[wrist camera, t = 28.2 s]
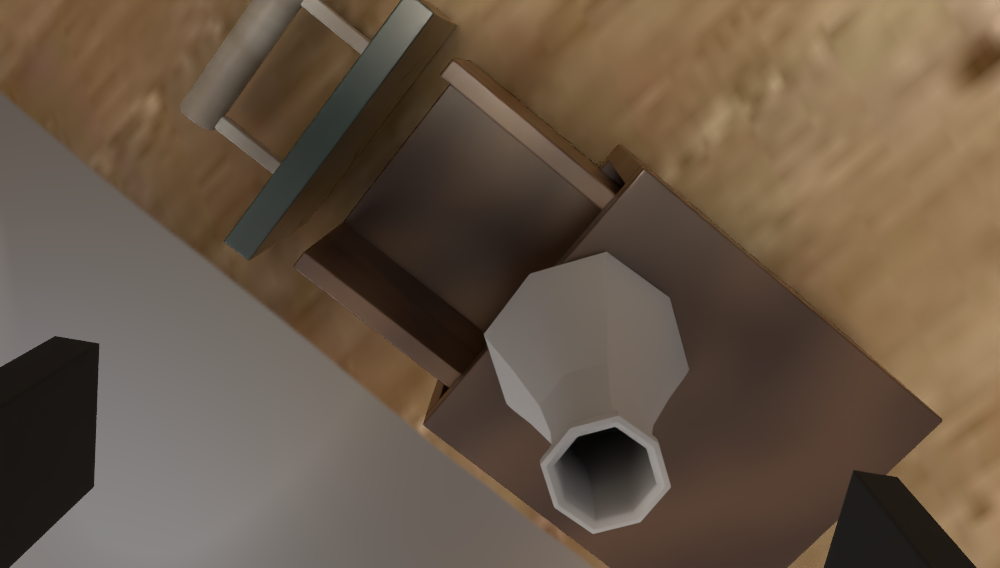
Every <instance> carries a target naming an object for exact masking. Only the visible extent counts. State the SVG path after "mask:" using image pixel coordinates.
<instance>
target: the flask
mask: <svg viewBox="0 0 1000 568" xmlns="http://www.w3.org/2000/svg"><path fill="white" fill-rule="evenodd" d="M484 337H485V340H486V343H487V346H488V349H489V352H490V355H491V358H492V361H493V364H494V367H495V370H496V373H497V376H498V379H499V382H500V385H501V388H502V391H503V395H504V398H505V401H506V404H507V405H508V406H509V407H510V408H511V409H513V410H514V411H515V412H516V413H518V414H519V415H520V416H521V417H523V418H524V419H525V420H527V421H528V422H529V423H530V424H531V425H532V426H533V427H534V428H536V429H537V430H538V431H539V432H540V433H541V434H542V435H543V436H544V437H545V438H546V439H547V440H548V441H549V442H550V443H551V447H550V448H549V449H548V450H547V451H546V453H545V454H544V455H543V456H542V458H541V460H540V465H541V468H542V471H543V474H544V477H545V480H546V484H547V487H548V490H549V493H550V496H551V499H552V502H553V505H554V508H556V509H557V510H559V511H560V512H562V513H563V514H564V515H566V516H567V517H569V518H570V519H572V520H573V521H575V522H576V523H578V524H579V525H581V526H582V527H583V528H585V529H586V530H588V531H589V532H591V533H592V534H595V533H599V532H603V531H607V530H611V529H616V528H620V527H624V526H628V525H632V524H636V523H640V522H641V521H642V520H643V519H644V517H645V516H646V515H647V514H648V513H649V512H650V511H651V509H652V508H653V507H654V506H655V505H656V504H657V503H658V501H659V500H660V499H661V498H662V497H663V496H664V495H665V494H666V492H667V491H668V490H669V489H670V488H671V485H670V481H669V477H668V474H667V470H666V467H665V463H664V460H663V456H662V453H661V449H660V446H659V442H658V439H657V438H656V437H654V436H653V435H652V431H653V425H654V423H655V422H656V420H657V418H658V417H659V415H660V413H661V412H662V410H663V408H664V406H665V405H666V403H667V401H668V400H669V398H670V397H671V395H672V394H673V392H674V391H675V390H676V388H677V387H678V386H679V384H680V383H681V382H682V380H683V379H684V378H685V376H686V374H687V373H688V371H689V367H688V363H687V360H686V356H685V352H684V349H683V345H682V341H681V337H680V334H679V330H678V326H677V323H676V319H675V315H674V312H673V308H672V304H671V301H670V298H669V297H668V296H667V295H665V294H664V293H663V292H661V291H660V290H658V289H657V288H656V287H654V286H653V285H652V284H650V283H649V282H647V281H646V280H645V279H643V278H642V277H641V276H639V275H638V274H637V273H635V272H634V271H632V270H631V269H630V268H628V267H627V266H626V265H624V264H623V263H622V262H620V261H619V260H617V259H616V258H615V257H613V256H612V255H611V254H609V253H608V252H604V253H600V254H597V255H593V256H590V257H586V258H583V259H579V260H576V261H572V262H569V263H565V264H562V265H559V266H555V267H552V268H548V269H545V270H541V271H538V272H534V273H531V274H529V276H528V277H527V278H526V279H525V281H524V282H523V283H522V285H521V286H520V287H519V289H518V290H517V291H516V293H515V294H514V295H513V297H512V298H511V299H510V300H509V302H508V303H507V304H506V306H505V307H504V308H503V310H502V311H501V312H500V314H499V315H498V316H497V318H496V319H495V320H494V321H493V323H492V324H491V325H490V327H489V328H488V329H487V331H486V332H485V333H484Z"/></svg>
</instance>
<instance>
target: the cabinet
mask: <svg viewBox="0 0 1000 568" xmlns="http://www.w3.org/2000/svg"><path fill="white" fill-rule="evenodd" d="M599 169H601V170H602V171H603V172H604V173H605V174H607V175H608V176H609V177H610V178H611V179H613V180H614V181H615V182H616V183H617V184H619V185H620V186H621V187H622V188H621V189H620V190H619V192H618V193H617V194H616V195H615V196H614V197H613V199H612V200H611V201H610V202H609V203H608V204H607V206H606V207H605V208H604V209H603V210H602V211H601V213H600V214H599V215H598V216H597V217H596V218H595V219H594V221H593V222H592V223H591V224H590V225H589V226H588V228H587V229H586V230H585V231H584V232H583V233H582V235H581V236H580V237H579V238H578V239H577V240H576V242H575V243H574V244H573V245H572V246H571V247H570V249H569V250H568V251H567V252H566V253H565V254H564V256H563V257H562V258H561V259H560V260H559V261H558V262H557V264H556V265H555V266H559V265H562V264H565V263H569V262H572V261H576V260H579V259H583V258H586V257H590V256H593V255H597V254H600V253H604V252H608V253H609V254H611V255H612V256H613V257H615V258H616V259H617V260H619V261H620V262H622V263H623V264H624V265H626V266H627V267H628V268H630V269H631V270H632V271H634V272H635V273H637V274H638V275H639V276H641V277H642V278H643V279H645V280H646V281H647V282H649V283H650V284H652V285H653V286H654V287H656V288H657V289H658V290H660V291H661V292H663V293H664V294H665V295H667V296H668V297H669V298H670V301H671V304H672V308H673V312H674V315H675V319H676V323H677V326H678V330H679V334H680V337H681V341H682V345H683V349H684V352H685V356H686V360H687V363H688V367H689V371H688V373H687V374H686V376H685V378H684V379H683V380H682V382H681V383H680V384H679V386H678V387H677V388H676V390H675V391H674V392H673V394H672V395H671V397H670V398H669V400H668V401H667V403H666V405H665V406H664V408H663V410H662V412H661V413H660V415H659V417H658V418H657V420H656V422H655V423H654V425H653V431H652V435H653V436H654V437H656V438H657V439H658V442H659V446H660V449H661V453H662V456H663V460H664V463H665V467H666V470H667V474H668V477H669V481H670V485H671V488H670V489H669V490H668V491H667V492H666V494H665V495H664V496H663V497H662V498H661V499H660V500H659V501H658V503H657V504H656V505H655V506H654V507H653V508H652V509H651V511H650V512H649V513H648V514H647V515H646V516H645V517H644V519H643V520H642V521H641V522H640V523H636V524H632V525H628V526H624V527H620V528H616V529H611V530H607V531H603V532H599V533H595V534H592V533H591V532H589V531H588V530H586V529H585V528H583V527H582V526H581V525H579V524H578V523H576V522H575V521H573V520H572V519H570V518H569V517H567V516H566V515H564V514H563V513H562V512H560V511H559V510H557V509H556V508H554V505H553V502H552V499H551V496H550V493H549V490H548V487H547V484H546V480H545V477H544V474H543V471H542V468H541V465H540V460H541V458H542V456H543V455H544V454H545V453H546V451H547V450H548V449H549V448H550V447H551V443H550V442H549V441H548V440H547V439H546V438H545V437H544V436H543V435H542V434H541V433H540V432H539V431H538V430H537V429H536V428H534V427H533V426H532V425H531V424H530V423H529V422H528V421H527V420H525V419H524V418H523V417H521V416H520V415H519V414H518V413H516V412H515V411H514V410H513V409H511V408H510V407H509V406H508V405H507V404H506V401H505V398H504V395H503V391H502V388H501V385H500V382H499V379H498V376H497V373H496V370H495V367H494V364H493V361H492V358H491V355H490V352H489V349H488V346H487V345H486V346H485V347H484V348H483V350H482V351H481V352H480V353H479V354H478V355H477V357H476V358H475V359H474V360H473V361H472V362H471V364H470V365H469V366H468V367H467V368H466V369H465V371H464V372H463V373H462V374H461V375H460V376H459V377H458V379H457V380H456V381H455V382H454V383H453V384H452V386H451V387H450V388H449V387H447V386H446V385H445V384H443V383H442V382H441V381H440V380H438V381H437V384H436V387H435V389H434V392H433V395H432V398H431V401H430V404H429V407H428V410H427V413H426V417H425V420H424V423H423V425H424V426H425V427H426V428H428V429H429V430H430V431H432V432H433V433H434V434H436V435H437V436H438V437H440V438H441V439H442V440H444V441H445V442H446V443H447V444H449V445H450V446H451V447H453V448H454V449H455V450H457V451H458V452H459V453H461V454H462V455H463V456H464V457H466V458H467V459H468V460H470V461H471V462H472V463H474V464H475V465H476V466H478V467H479V468H480V469H482V470H483V471H484V472H485V473H487V474H488V475H489V476H491V477H492V478H493V479H495V480H496V481H497V482H499V483H500V484H501V485H503V486H504V487H505V488H506V489H508V490H509V491H510V492H512V493H513V494H514V495H516V496H517V497H518V498H520V499H521V500H522V501H524V502H525V503H526V504H527V505H529V506H530V507H531V508H533V509H534V510H535V511H537V512H538V513H539V514H541V515H542V516H543V517H544V518H546V519H547V520H548V521H550V522H551V523H552V524H554V525H555V526H556V527H558V528H559V529H560V530H562V531H563V532H564V533H565V534H567V535H568V536H569V537H571V538H572V539H573V540H575V541H576V542H577V543H579V544H580V545H581V546H583V547H584V548H585V549H586V550H588V551H589V552H590V553H592V554H593V555H594V556H596V557H597V558H598V559H600V560H601V561H602V562H604V563H605V564H606V565H607V566H609V567H610V568H787V567H788V566H789V565H791V564H792V563H793V562H794V561H795V560H796V559H797V558H798V557H799V556H800V555H801V554H802V553H803V552H804V551H805V550H806V549H808V548H809V547H810V546H811V545H812V544H813V543H814V542H815V541H816V540H817V539H818V538H819V537H820V536H821V535H822V534H823V533H824V532H826V531H827V530H828V529H829V528H830V527H831V526H832V525H833V524H834V523H835V522H836V521H837V520H838V519H839V516H840V513H841V509H842V506H843V503H844V499H845V496H846V493H847V489H848V486H849V483H850V480H851V476H852V473H853V470H857V471H863V472H869V473H875V474H881V475H886V474H887V473H888V472H889V471H890V470H891V469H892V468H893V467H894V466H896V465H897V464H898V463H899V462H900V461H901V460H902V459H903V458H904V457H905V456H906V455H907V454H908V453H909V452H910V451H911V450H912V449H914V448H915V447H916V446H917V445H918V444H919V443H920V442H921V441H922V440H923V439H924V438H925V437H926V436H927V435H928V434H929V433H930V432H932V431H933V430H934V429H935V428H936V427H937V426H938V425H939V424H940V423H941V422H942V418H940V417H939V416H938V415H937V414H936V413H935V412H934V411H932V410H931V409H930V408H929V407H928V406H927V405H926V404H924V403H923V402H922V401H921V400H920V399H919V398H918V397H916V396H915V395H914V394H913V393H912V392H911V391H910V390H908V389H907V388H906V387H905V386H904V385H903V384H902V383H900V382H899V381H898V380H897V379H896V378H895V377H894V376H892V375H891V374H890V373H889V372H888V371H887V370H886V369H884V368H883V367H882V366H881V365H880V364H879V363H878V362H876V361H875V360H874V359H873V358H872V357H871V356H870V355H868V354H867V353H866V352H865V351H864V350H863V349H861V348H860V347H859V346H858V345H857V344H856V343H855V342H853V341H852V340H851V339H850V338H849V337H848V336H847V335H845V334H844V333H843V332H842V331H841V330H839V329H838V328H837V327H836V326H835V325H834V324H832V323H831V322H830V321H829V320H828V319H826V318H825V317H824V316H823V315H822V314H820V313H819V312H818V311H817V310H816V309H815V308H813V307H812V306H811V305H810V304H809V303H807V302H806V301H805V300H804V299H803V298H802V297H800V296H799V295H798V294H797V293H796V292H794V291H793V290H792V289H791V288H790V287H789V286H787V285H786V284H785V283H784V282H783V281H781V280H780V279H779V278H778V277H777V276H776V275H774V274H773V273H772V272H771V271H770V270H768V269H767V268H766V267H765V266H764V265H762V264H761V263H760V262H759V261H758V260H757V259H755V258H754V257H753V256H752V255H751V254H749V253H748V252H747V251H746V250H745V249H744V248H742V247H741V246H740V245H739V244H738V243H736V242H735V241H734V240H733V239H732V238H731V237H729V236H728V235H727V234H726V233H725V232H723V231H722V230H721V229H720V228H719V227H718V226H716V225H715V224H714V223H713V222H712V221H710V220H709V219H708V218H707V217H706V216H704V215H703V214H702V213H701V212H700V211H699V210H697V209H696V208H695V207H694V206H693V205H691V204H690V203H689V202H688V201H687V200H686V199H684V198H683V197H682V196H681V195H680V194H678V193H677V192H676V191H675V190H674V189H673V188H671V187H670V186H669V185H668V184H667V183H665V182H664V181H663V180H662V179H661V178H660V177H658V176H657V175H656V174H655V173H654V172H652V171H651V170H650V169H649V168H648V167H647V166H645V165H644V164H643V163H642V162H641V161H639V160H638V159H637V158H636V157H635V156H633V155H632V154H631V153H630V152H629V151H628V150H626V149H625V148H624V147H623V146H622V145H620V144H619V145H618V146H617V147H616V148H615V149H614V151H613V152H612V153H611V154H610V155H609V156H608V158H607V159H606V160H605V161H604V162H603V164H602V165H601V166H600V167H599ZM555 266H554V267H555Z"/></svg>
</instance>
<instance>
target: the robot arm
mask: <svg viewBox="0 0 1000 568" xmlns="http://www.w3.org/2000/svg"><path fill="white" fill-rule="evenodd" d="M98 362H99V344H98V343H92V342H86V341H81V340H75V339H68V338H63V337H56V336H55V337H53V338H51V339H49V340H48V341H46V342H44V343H42V344H41V345H39V346H37V347H35V348H33V349H32V350H30V351H28V352H26V353H25V354H23V355H21V356H19V357H18V358H16V359H14V360H13V361H11V362H9V363H7V364H5V365H4V366H2V367H0V568H9V567H10V566H11V565H12V564H13V563H14V562H16V561H17V560H18V559H19V558H20V557H21V556H22V555H23V554H24V553H25V552H26V551H27V550H28V549H29V548H30V547H31V546H32V545H33V544H34V543H35V542H36V541H37V540H39V538H41V537H42V536H43V535H44V534H45V533H46V532H47V531H48V530H49V529H50V528H51V527H52V526H53V525H54V524H55V523H56V522H57V521H58V520H59V519H60V518H61V517H63V515H65V514H66V513H67V512H68V511H69V510H70V509H71V508H72V507H73V506H74V505H75V504H76V503H77V502H78V501H79V500H80V499H81V498H82V497H83V496H84V495H86V494H87V493H88V492H89V491H90V490H91V489H92V488H93V487H94V467H95V442H96V441H95V440H96V415H97V389H98ZM824 568H976V567H975V565H974V564H973V563H972V562H971V561H970V560H969V559H968V557H967V556H966V555H965V554H964V553H963V552H962V551H961V549H960V548H959V547H958V546H957V545H956V544H955V543H954V541H953V540H952V539H951V538H950V537H949V536H948V535H947V533H946V532H945V531H944V530H943V529H942V528H941V527H940V525H939V524H938V523H937V522H936V521H935V520H934V519H933V517H932V516H931V515H930V514H929V513H928V512H927V511H926V509H925V508H924V507H923V506H922V505H921V504H920V503H919V501H918V500H917V499H916V498H915V497H914V496H913V495H912V493H911V492H910V491H909V490H908V489H907V488H906V487H905V485H904V484H903V483H902V482H901V481H900V480H899V479H898V477H893V476H887V475H881V474H875V473H869V472H863V471H857V470H853V473H852V476H851V480H850V483H849V486H848V489H847V493H846V496H845V499H844V503H843V506H842V509H841V513H840V516H839V519H838V523H837V526H836V529H835V532H834V536H833V539H832V542H831V546H830V549H829V552H828V556H827V559H826V562H825V565H824Z"/></svg>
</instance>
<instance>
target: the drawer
mask: <svg viewBox="0 0 1000 568" xmlns="http://www.w3.org/2000/svg"><path fill="white" fill-rule="evenodd" d="M301 7H303V8H305V9H306V10H307V11H308V12H309V13H311V14H312V15H313V16H314V17H316V18H317V19H318V20H319V21H320V22H322V23H323V24H324V25H325V26H326V27H328V28H329V29H330V30H331V31H333V32H334V33H335V34H336V35H337V36H339V37H340V38H341V39H342V40H344V41H345V42H346V43H347V44H348V45H350V46H351V47H352V48H353V49H354V50H356V51H357V52H358V53H359V54H361V55H360V57H359V58H358V59H357V61H356V62H355V63H354V65H353V66H352V67H351V69H350V70H349V72H348V73H347V74H346V76H345V77H344V78H343V80H342V81H341V82H340V84H339V85H338V86H337V88H336V89H335V91H334V92H333V93H332V95H331V96H330V97H329V99H328V100H327V101H326V103H325V104H324V106H323V107H322V108H321V110H320V111H319V112H318V114H317V115H316V116H315V118H314V119H313V121H312V122H311V123H310V125H309V126H308V127H307V129H306V130H305V131H304V133H303V134H302V135H301V137H300V138H299V140H298V141H297V142H296V144H295V145H294V146H293V148H292V149H291V150H290V152H289V153H288V155H287V156H286V157H285V159H284V160H282V159H281V158H280V157H278V156H277V155H276V154H275V153H273V152H272V151H271V150H270V149H268V148H267V147H266V146H264V145H263V144H262V143H261V142H259V141H258V140H257V139H256V138H254V137H253V136H252V135H251V134H249V133H248V132H247V131H246V130H244V129H243V128H242V127H240V126H239V125H238V124H237V123H235V122H234V121H233V120H232V119H230V118H229V117H228V116H225V115H226V114H227V112H228V111H229V109H230V108H231V106H232V105H233V104H234V102H235V101H236V99H237V98H238V96H239V95H240V94H241V92H242V91H243V89H244V88H245V87H246V85H247V84H248V82H249V81H250V79H251V78H252V77H253V75H254V74H255V72H256V71H257V69H258V68H259V67H260V65H261V64H262V62H263V61H264V60H265V58H266V57H267V55H268V54H269V52H270V51H271V50H272V48H273V47H274V45H275V44H276V42H277V41H278V40H279V38H280V37H281V35H282V34H283V33H284V31H285V30H286V28H287V27H288V25H289V24H290V23H291V21H292V20H293V18H294V17H295V15H296V14H297V13H298V11H299V10H300V8H301ZM455 27H456V24H455V23H454V22H453V21H452V20H451V19H449V18H448V17H447V16H446V15H445V14H444V13H442V12H441V11H440V10H439V9H438V8H436V7H434V6H433V5H431V4H429V3H428V2H426V1H424V0H401V1H400V2H399V3H398V5H397V6H396V8H395V9H394V10H393V12H392V13H391V14H390V16H389V17H388V18H387V20H386V21H385V23H384V24H383V25H382V27H381V28H380V29H379V31H378V32H377V33H376V35H375V36H374V38H373V39H372V40H371V41H370V40H369V39H368V38H366V37H365V36H364V35H363V34H361V33H360V32H359V31H358V30H357V29H355V28H354V27H353V26H352V25H351V24H349V23H348V22H347V21H346V20H345V19H343V18H342V17H341V16H340V15H338V14H337V13H336V12H335V11H334V10H332V9H331V8H330V7H329V6H328V5H326V4H325V3H324V2H323V1H321V0H251V2H250V3H249V5H248V6H247V8H246V9H245V11H244V12H243V14H242V15H241V16H240V18H239V19H238V21H237V22H236V24H235V25H234V27H233V28H232V30H231V31H230V33H229V34H228V35H227V37H226V38H225V40H224V41H223V43H222V44H221V46H220V47H219V49H218V50H217V51H216V53H215V54H214V56H213V57H212V59H211V60H210V62H209V63H208V65H207V66H206V68H205V69H204V70H203V72H202V73H201V75H200V76H199V78H198V79H197V81H196V82H195V84H194V85H193V86H192V88H191V89H190V91H189V92H188V94H187V95H186V97H185V98H184V100H183V101H182V103H181V104H180V107H179V108H180V110H181V112H182V113H183V114H184V115H185V116H186V117H187V118H188V119H190V120H191V121H192V122H194V123H195V124H197V125H199V126H200V127H203V128H205V129H208V130H215V129H216V130H217V131H219V132H220V133H221V134H222V135H224V136H225V137H226V138H227V139H229V140H230V141H231V142H233V143H234V144H235V145H236V146H238V147H239V148H240V149H241V150H243V151H244V152H245V153H247V154H248V155H249V156H250V157H252V158H253V159H254V160H255V161H257V162H258V163H259V164H261V165H262V166H263V167H264V168H266V169H267V170H268V171H269V172H271V173H272V174H273V175H272V176H271V178H270V179H269V180H268V182H267V183H266V184H265V186H264V187H263V189H262V190H261V191H260V193H259V194H258V195H257V197H256V198H255V199H254V201H253V202H252V204H251V205H250V206H249V208H248V209H247V210H246V212H245V213H244V214H243V216H242V217H241V218H240V220H239V221H238V223H237V224H236V225H235V227H234V228H233V229H232V231H231V232H230V233H229V235H228V236H227V238H226V239H225V240H224V242H225V243H226V244H227V245H229V246H230V247H231V248H233V249H234V250H235V251H236V252H238V253H239V254H240V255H242V256H243V257H244V258H246V259H247V260H251V259H252V258H254V257H255V256H257V255H258V254H260V253H262V252H263V251H265V250H266V249H268V248H269V247H271V246H272V245H274V244H275V243H277V242H278V241H280V240H281V239H283V238H285V237H286V236H288V235H289V234H291V233H292V232H294V231H295V230H297V229H298V228H300V227H301V226H303V225H305V224H306V223H307V222H308V220H309V219H310V218H311V216H312V215H313V214H314V212H315V211H316V210H317V208H318V207H319V206H320V205H321V203H322V202H323V201H324V199H325V198H326V197H327V195H328V194H329V193H330V191H331V190H332V189H333V187H334V186H335V185H336V183H337V182H338V181H339V179H340V178H341V177H342V176H343V174H344V173H345V172H346V170H347V169H348V168H349V166H350V165H351V164H352V162H353V161H354V160H355V158H356V157H357V156H358V154H359V153H360V152H361V151H362V149H363V148H364V147H365V145H366V144H367V143H368V141H369V140H370V139H371V137H372V136H373V135H374V133H375V132H376V131H377V129H378V128H379V127H380V126H381V124H382V123H383V122H384V120H385V119H386V118H387V116H388V115H389V114H390V112H391V111H392V110H393V108H394V107H395V106H396V104H397V103H398V102H399V100H400V99H401V98H402V97H403V95H404V94H405V93H406V91H407V90H408V89H409V87H410V86H411V85H412V83H413V82H414V81H415V79H416V78H417V77H418V75H419V74H420V73H421V72H422V70H423V69H424V68H425V66H426V65H427V64H428V62H429V61H430V60H431V58H432V57H433V56H434V54H435V53H436V52H437V50H438V49H439V48H440V47H441V45H442V44H443V43H444V41H445V40H446V39H447V37H448V36H449V35H450V33H451V32H452V31H453V29H454V28H455ZM440 76H441V78H443V79H444V80H445V81H446V82H447V83H449V86H448V87H447V88H446V90H445V91H444V92H443V93H442V95H441V96H440V97H439V99H438V100H437V101H436V102H435V104H434V105H433V106H432V108H431V109H430V110H429V112H428V113H427V114H426V115H425V117H424V118H423V119H422V121H421V122H420V123H419V125H418V126H417V127H416V128H415V130H414V131H413V132H412V134H411V135H410V136H409V137H408V139H407V140H406V141H405V143H404V144H403V145H402V147H401V148H400V149H399V150H398V152H397V153H396V154H395V156H394V157H393V158H392V159H391V161H390V162H389V163H388V165H387V166H386V167H385V169H384V170H383V171H382V172H381V174H380V175H379V176H378V178H377V179H376V180H375V181H374V183H373V184H372V185H371V187H370V188H369V189H368V191H367V192H366V193H365V194H364V196H363V197H362V198H361V200H360V201H359V202H358V203H357V205H356V206H355V207H354V209H353V210H352V211H351V213H350V214H349V215H348V216H347V218H346V219H345V220H344V222H343V223H341V224H340V225H339V226H338V227H336V228H335V229H334V230H332V231H331V232H330V233H328V234H327V235H326V236H324V237H323V238H322V239H321V240H319V241H318V242H317V243H315V244H314V245H313V246H311V247H310V248H309V249H308V250H306V251H305V252H304V253H303V254H302V255H301V256H300V258H299V259H298V260H297V262H296V263H295V264H294V266H293V267H294V268H295V269H296V270H297V271H299V272H300V273H301V274H302V275H304V276H305V277H306V278H308V279H309V280H310V281H311V282H313V283H314V284H315V285H317V286H318V287H319V288H321V289H322V290H323V291H324V292H326V293H327V294H328V295H330V296H331V297H332V298H333V299H335V300H336V301H337V302H339V303H340V304H341V305H343V306H344V307H345V308H346V309H348V310H349V311H350V312H352V313H353V314H354V315H355V316H357V317H358V318H359V319H361V320H362V321H363V322H365V323H366V324H367V325H368V326H370V327H371V328H372V329H374V330H375V331H376V332H377V333H379V334H380V335H381V336H383V337H384V338H385V339H387V340H388V341H389V342H390V343H392V344H393V345H394V346H396V347H397V348H398V349H399V350H401V351H402V352H403V353H405V354H406V355H407V356H409V357H410V358H411V359H412V360H414V361H415V362H416V363H418V364H419V365H420V366H421V367H423V368H424V369H425V370H427V371H428V372H429V373H431V374H432V375H433V376H434V377H436V378H437V379H438V380H440V381H441V382H442V383H443V384H445V385H446V386H447V387H449V388H450V387H451V386H452V384H453V383H454V382H455V381H456V380H457V379H458V377H459V376H460V375H461V374H462V373H463V372H464V371H465V369H466V368H467V367H468V366H469V365H470V364H471V362H472V361H473V360H474V359H475V358H476V357H477V355H478V354H479V353H480V352H481V351H482V350H483V348H484V347H485V346H486V345H487V343H486V340H485V337H484V333H485V332H486V331H487V329H488V328H489V327H490V325H491V324H492V323H493V321H494V320H495V319H496V318H497V316H498V315H499V314H500V312H501V311H502V310H503V308H504V307H505V306H506V304H507V303H508V302H509V300H510V299H511V298H512V297H513V295H514V294H515V293H516V291H517V290H518V289H519V287H520V286H521V285H522V283H523V282H524V281H525V279H526V278H527V277H528V276H529V274H531V273H534V272H538V271H541V270H545V269H548V268H552V267H554V266H555V265H556V264H557V262H558V261H559V260H560V259H561V258H562V257H563V256H564V254H565V253H566V252H567V251H568V250H569V249H570V247H571V246H572V245H573V244H574V243H575V242H576V240H577V239H578V238H579V237H580V236H581V235H582V233H583V232H584V231H585V230H586V229H587V228H588V226H589V225H590V224H591V223H592V222H593V221H594V219H595V218H596V217H597V216H598V215H599V214H600V213H601V211H602V210H603V209H604V208H605V207H606V206H607V204H608V203H609V202H610V201H611V200H612V199H613V197H614V196H615V195H616V194H617V193H618V192H619V190H620V189H621V188H622V187H621V186H620V185H619V184H617V183H616V182H615V181H614V180H613V179H611V178H610V177H609V176H608V175H607V174H605V173H604V172H603V171H602V170H601V169H599V168H598V167H597V166H596V165H595V164H593V163H592V162H591V161H590V160H589V159H587V158H586V157H585V156H584V155H583V154H581V153H580V152H579V151H578V150H577V149H576V148H574V147H573V146H572V145H571V144H570V143H568V142H567V141H566V140H565V139H564V138H562V137H561V136H560V135H559V134H558V133H556V132H555V131H554V130H553V129H552V128H550V127H549V126H548V125H547V124H546V123H544V122H543V121H542V120H541V119H540V118H538V117H537V116H536V115H535V114H534V113H533V112H531V111H530V110H529V109H528V108H527V107H525V106H524V105H523V104H522V103H521V102H519V101H518V100H517V99H516V98H515V97H513V96H512V95H511V94H510V93H509V92H507V91H506V90H505V89H504V88H503V87H501V86H500V85H499V84H498V83H497V82H495V81H494V80H493V79H492V78H491V77H489V76H488V75H487V74H486V73H485V72H484V71H482V70H481V69H480V68H479V67H478V66H476V65H475V64H474V63H473V62H472V61H470V60H468V61H466V60H458V59H452V60H451V61H450V62H449V64H448V65H447V66H446V67H445V69H444V70H443V71H442V73H441V75H440Z"/></svg>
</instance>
